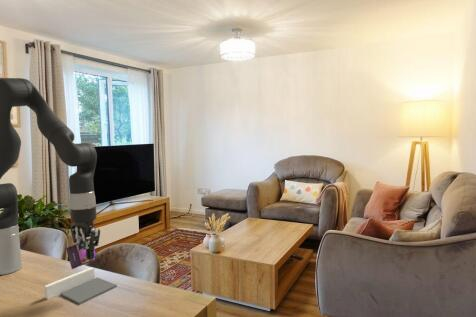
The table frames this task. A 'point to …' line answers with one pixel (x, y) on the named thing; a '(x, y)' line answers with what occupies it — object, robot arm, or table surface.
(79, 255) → the purple framed toy figure
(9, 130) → the robot arm
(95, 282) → the rubber mat
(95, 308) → the table surface
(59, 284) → the low wall
